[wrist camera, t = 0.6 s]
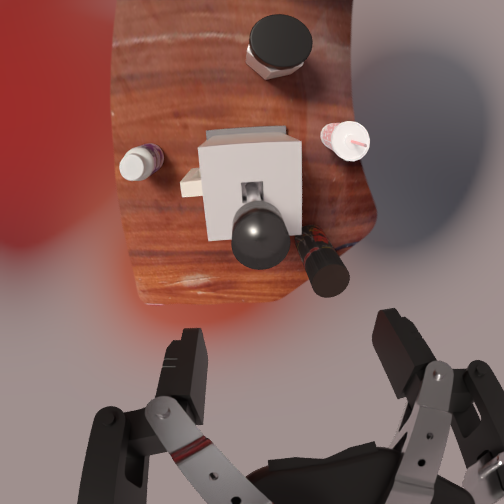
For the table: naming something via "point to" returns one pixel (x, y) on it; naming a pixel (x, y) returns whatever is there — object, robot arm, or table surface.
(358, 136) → the beverage cup
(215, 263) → the table surface
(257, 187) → the plunger
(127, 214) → the table surface
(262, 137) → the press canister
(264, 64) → the jar
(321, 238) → the deodorant
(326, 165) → the table surface
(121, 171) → the pill bottle
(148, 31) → the table surface
